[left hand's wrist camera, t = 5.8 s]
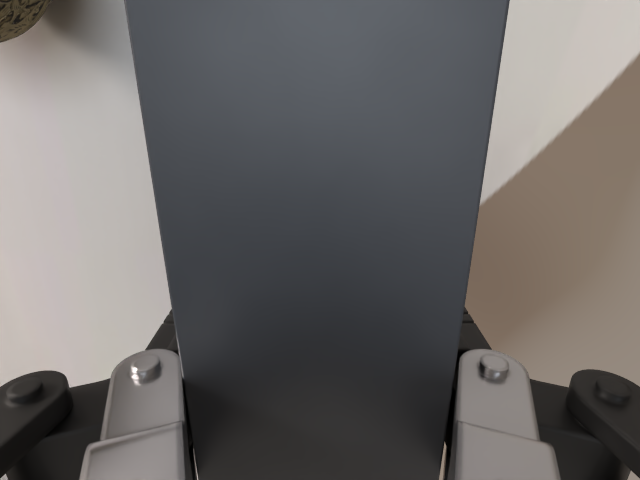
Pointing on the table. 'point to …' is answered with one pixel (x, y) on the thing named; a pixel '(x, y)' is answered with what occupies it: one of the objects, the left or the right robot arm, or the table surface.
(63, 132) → the table surface
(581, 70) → the table surface
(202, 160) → the bar
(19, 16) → the cup
